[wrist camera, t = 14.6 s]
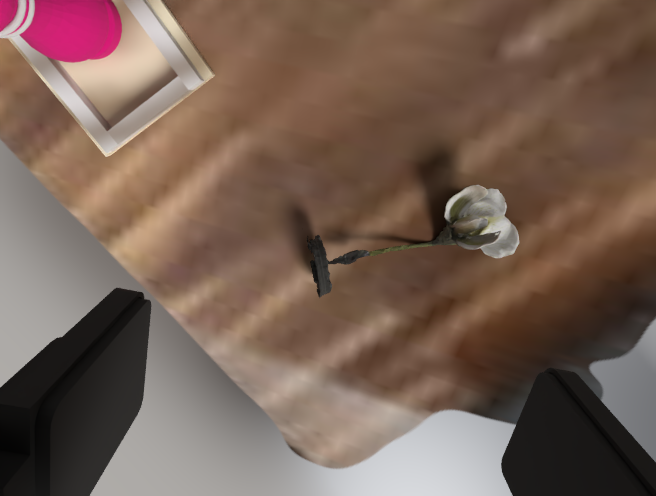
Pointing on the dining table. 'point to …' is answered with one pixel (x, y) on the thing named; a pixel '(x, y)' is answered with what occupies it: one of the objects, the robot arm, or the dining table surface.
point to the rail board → (126, 75)
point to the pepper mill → (63, 27)
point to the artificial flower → (444, 232)
